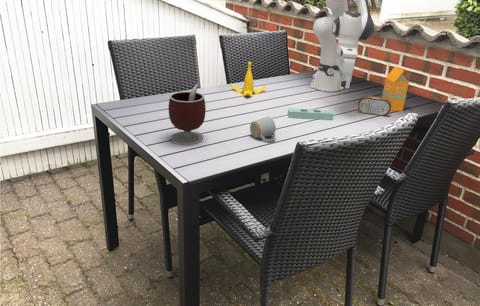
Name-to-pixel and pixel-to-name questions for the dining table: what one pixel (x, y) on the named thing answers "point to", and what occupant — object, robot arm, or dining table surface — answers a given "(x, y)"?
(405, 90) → the orange juice
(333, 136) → the dining table surface
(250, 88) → the banana peel
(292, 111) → the rail
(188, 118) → the mate gourd
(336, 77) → the white block
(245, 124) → the dining table surface
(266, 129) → the ceramic mug
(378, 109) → the tin
